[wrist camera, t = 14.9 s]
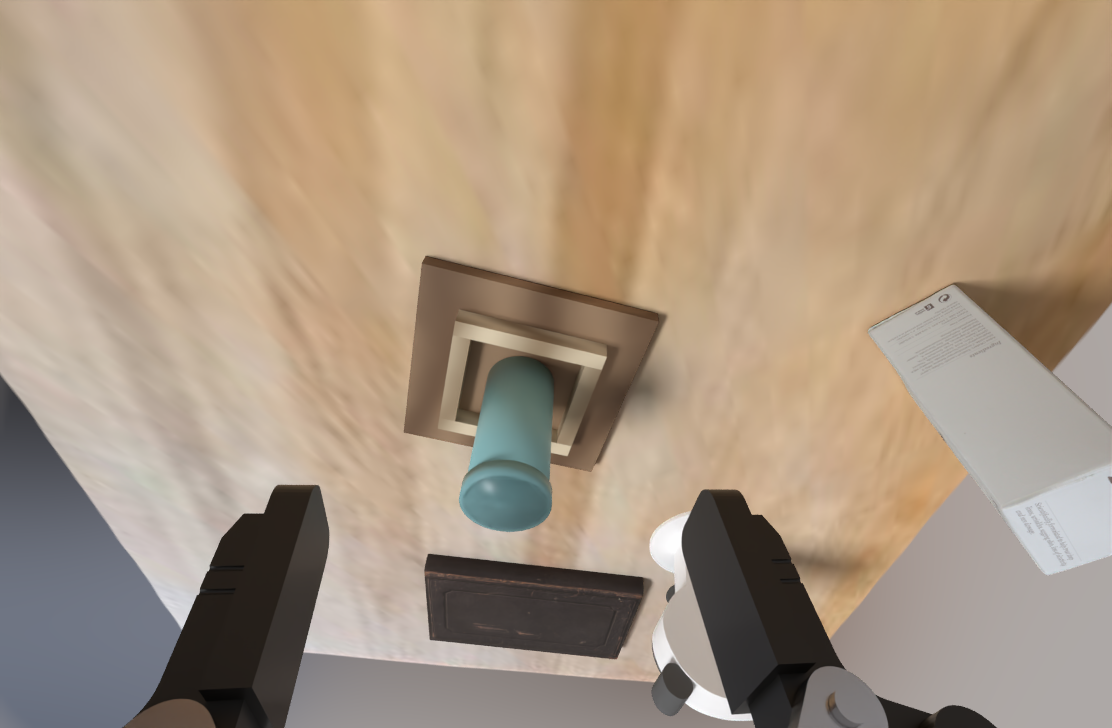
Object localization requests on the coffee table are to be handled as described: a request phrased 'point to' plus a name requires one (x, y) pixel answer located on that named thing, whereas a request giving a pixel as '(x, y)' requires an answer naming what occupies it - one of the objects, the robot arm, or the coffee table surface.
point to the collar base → (520, 330)
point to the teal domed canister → (512, 448)
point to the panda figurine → (684, 638)
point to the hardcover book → (529, 606)
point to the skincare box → (1008, 426)
